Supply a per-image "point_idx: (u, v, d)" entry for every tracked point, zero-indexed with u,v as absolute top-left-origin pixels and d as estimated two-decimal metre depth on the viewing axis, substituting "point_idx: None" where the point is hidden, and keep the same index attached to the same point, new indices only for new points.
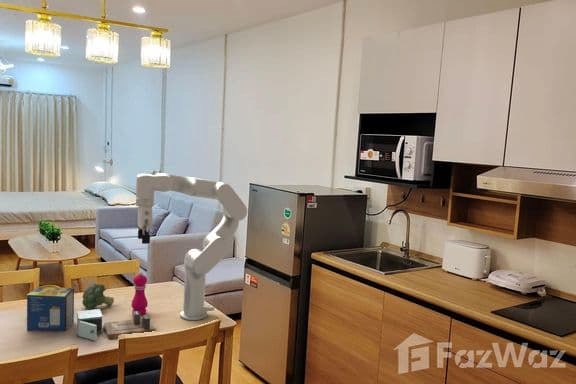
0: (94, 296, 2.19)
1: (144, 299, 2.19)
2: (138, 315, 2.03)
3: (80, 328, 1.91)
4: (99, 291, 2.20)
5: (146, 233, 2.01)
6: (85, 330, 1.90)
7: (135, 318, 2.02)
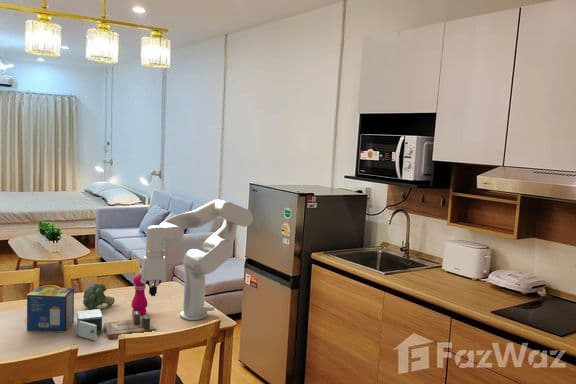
0: (95, 296, 2.19)
1: (144, 299, 2.19)
2: (138, 315, 2.03)
3: (80, 328, 1.91)
4: (100, 291, 2.20)
5: None
6: (85, 330, 1.90)
7: (135, 318, 2.02)
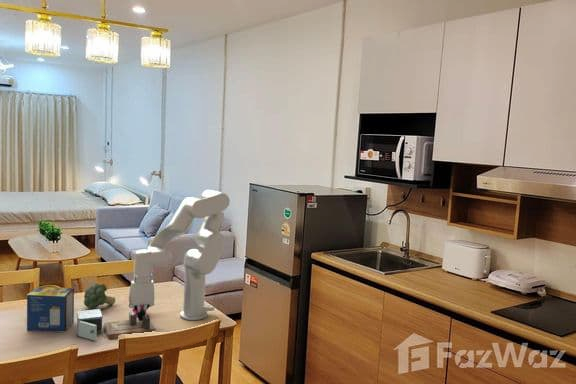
0: (96, 296, 2.19)
1: None
2: (134, 315, 2.02)
3: (80, 328, 1.91)
4: (101, 291, 2.20)
5: None
6: (85, 330, 1.90)
7: (131, 318, 2.01)
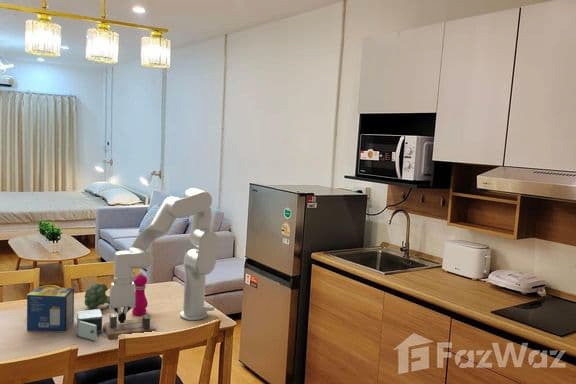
0: (96, 296, 2.19)
1: (144, 299, 2.19)
2: (114, 318, 1.98)
3: (80, 328, 1.91)
4: (101, 291, 2.20)
5: None
6: (85, 330, 1.90)
7: (111, 321, 1.98)
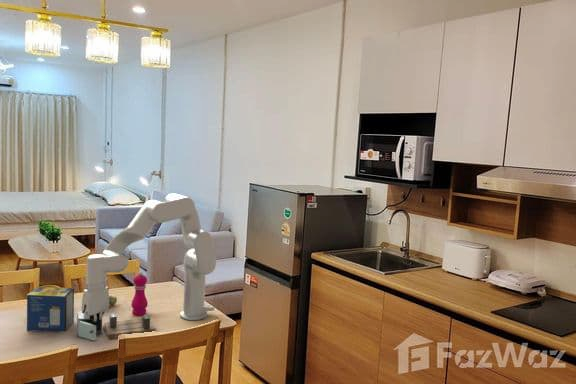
0: None
1: (144, 299, 2.19)
2: (114, 318, 1.98)
3: (80, 328, 1.91)
4: None
5: None
6: (85, 330, 1.90)
7: (111, 321, 1.98)
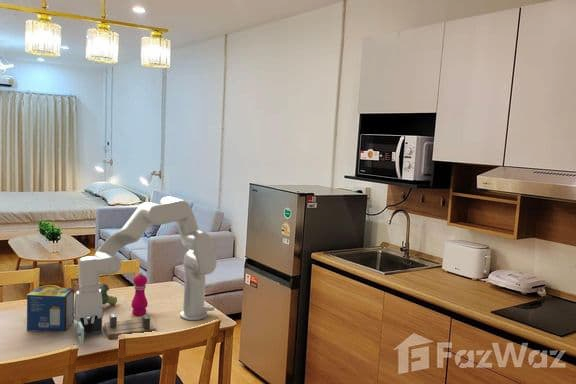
0: None
1: (144, 299, 2.19)
2: (114, 318, 1.98)
3: (78, 328, 1.91)
4: (103, 291, 2.21)
5: None
6: (79, 331, 1.89)
7: (111, 321, 1.98)
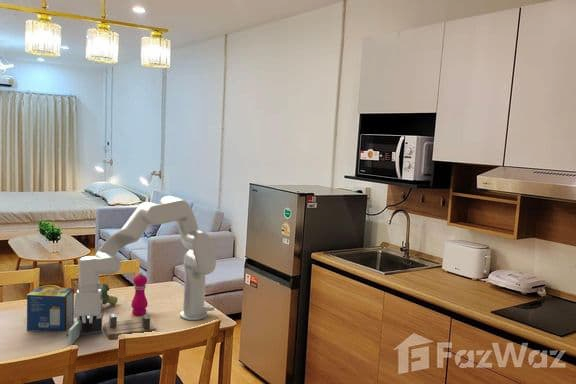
0: None
1: (144, 299, 2.19)
2: (114, 318, 1.98)
3: None
4: (103, 291, 2.21)
5: (93, 320, 1.90)
6: None
7: (111, 321, 1.98)
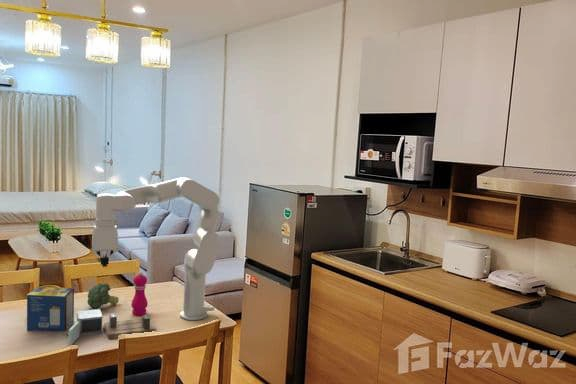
0: (99, 295, 2.20)
1: (144, 299, 2.19)
2: (114, 318, 1.98)
3: None
4: (104, 290, 2.21)
5: None
6: None
7: (111, 321, 1.98)
